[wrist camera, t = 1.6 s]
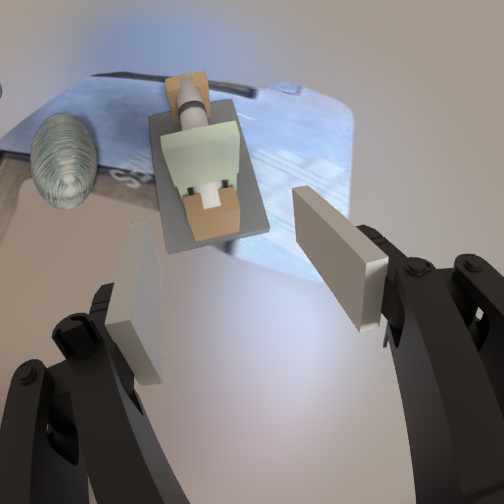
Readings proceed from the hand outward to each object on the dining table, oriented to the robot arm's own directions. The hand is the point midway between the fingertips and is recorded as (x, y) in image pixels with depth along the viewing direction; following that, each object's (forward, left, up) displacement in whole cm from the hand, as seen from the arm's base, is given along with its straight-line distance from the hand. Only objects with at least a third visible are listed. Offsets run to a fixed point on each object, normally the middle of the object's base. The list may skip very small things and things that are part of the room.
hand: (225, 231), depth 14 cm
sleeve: (0, +12, -18) cm, 22 cm away
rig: (0, +16, -22) cm, 28 cm away
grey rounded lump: (-18, +21, -23) cm, 36 cm away
